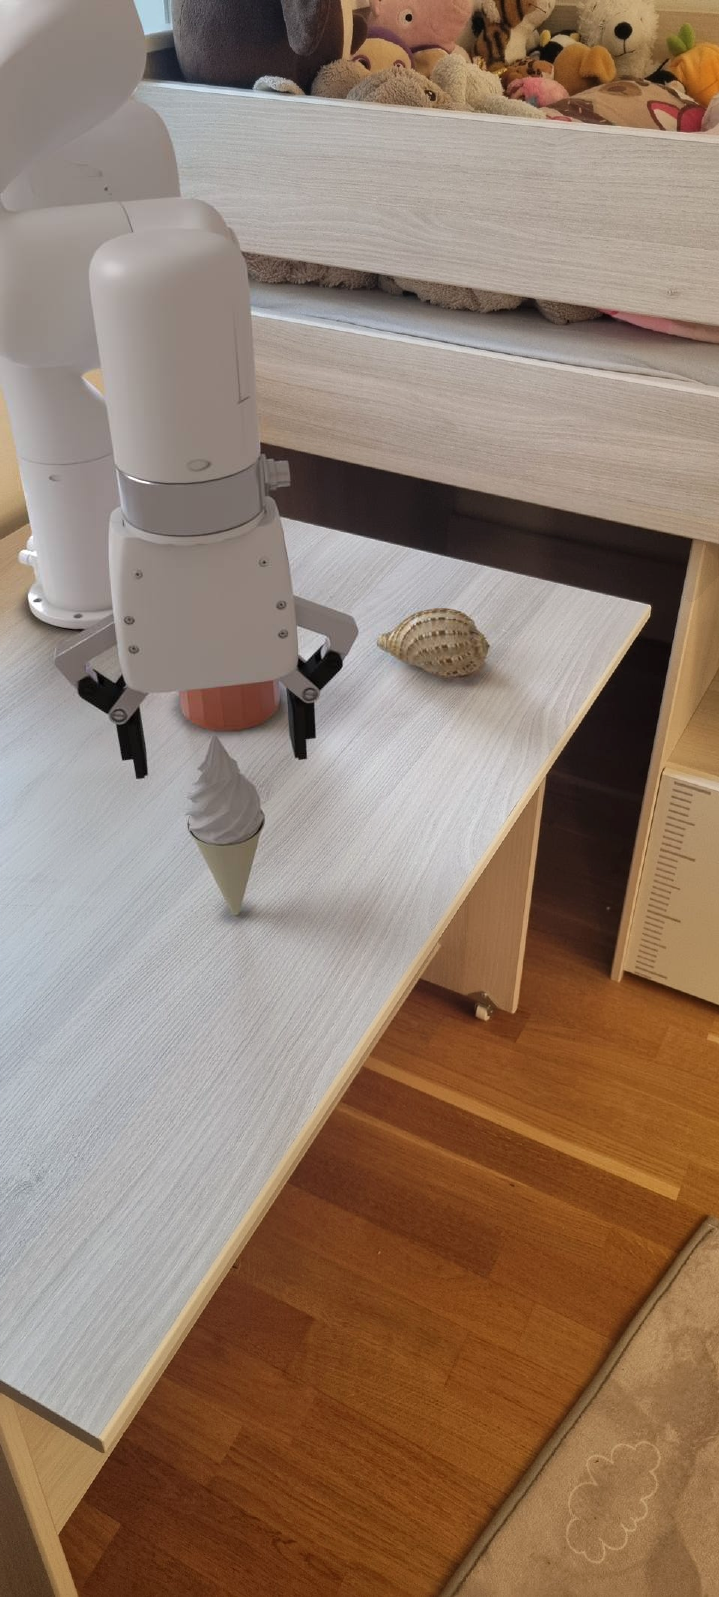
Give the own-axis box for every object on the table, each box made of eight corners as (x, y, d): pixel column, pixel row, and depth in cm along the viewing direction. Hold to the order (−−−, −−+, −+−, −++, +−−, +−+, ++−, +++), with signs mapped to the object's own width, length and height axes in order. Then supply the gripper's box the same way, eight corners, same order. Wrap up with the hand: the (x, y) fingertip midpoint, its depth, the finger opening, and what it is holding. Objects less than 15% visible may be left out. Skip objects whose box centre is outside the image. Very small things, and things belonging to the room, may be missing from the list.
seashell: (392, 711, 106) (497, 677, 102) (363, 657, 103) (470, 619, 99) (402, 666, 112) (502, 631, 108) (374, 613, 109) (476, 576, 105)
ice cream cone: (199, 891, 84) (175, 712, 74) (271, 886, 84) (257, 707, 75) (197, 941, 80) (172, 759, 70) (273, 936, 80) (258, 754, 71)
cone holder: (160, 710, 102) (151, 639, 97) (224, 667, 107) (217, 597, 103) (237, 742, 98) (230, 669, 93) (299, 695, 103) (295, 624, 99)
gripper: (341, 450, 67) (348, 708, 77) (27, 477, 65) (77, 739, 75) (366, 504, 61) (370, 775, 71) (21, 535, 59) (76, 810, 69)
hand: (220, 756), depth 73 cm, fingers open, 9 cm apart
